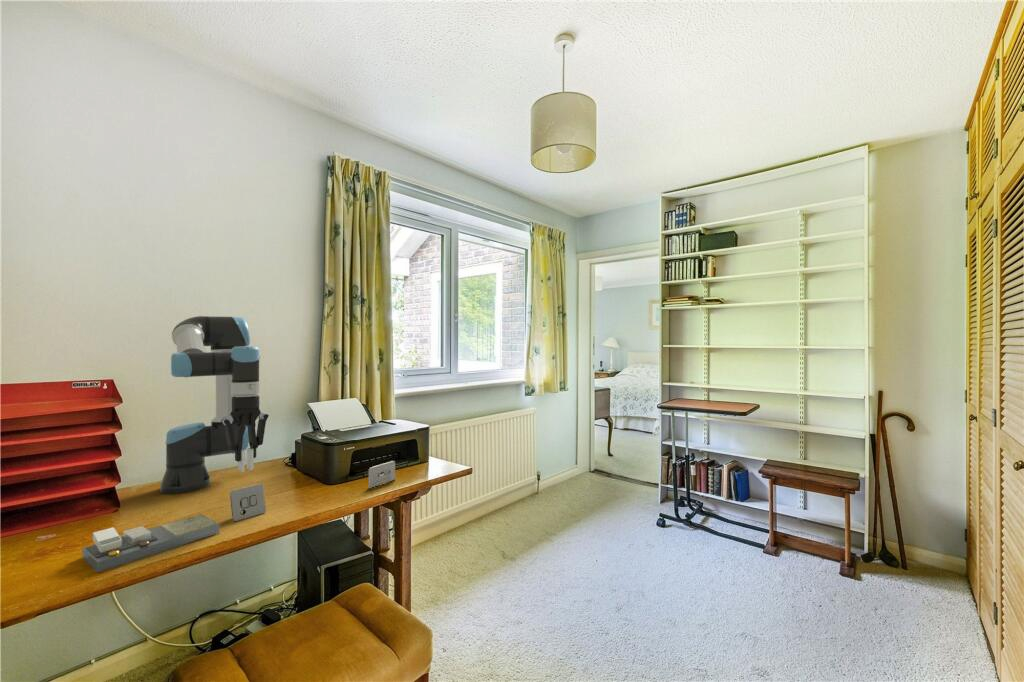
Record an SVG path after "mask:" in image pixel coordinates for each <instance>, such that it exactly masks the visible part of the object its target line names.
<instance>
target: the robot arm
mask: <svg viewBox="0 0 1024 682" xmlns="http://www.w3.org/2000/svg"><path fill="white" fill-rule="evenodd" d="M250 336H251V335H250V330H249V325H248V322H247V321H246V320H245V319H244V318H243V317H238V316H237V317H236V316H210V315H209V316H208V315H207V316H205V315H204V316H203V315H202V316H201V315H199V316H192V317H189V318H186V319H184V320H183V321H180V322H179V323H178V324H176V325H175V327H174V328H173V330H172V332H171V339H172V342H173V344H174V345H175V346H176V351H177V352H174V353H172V354H171V357H170V374H171V376H172V377H175V378H194V377H195V378H197V377H211V376H213V377H214V376H215V417H214V418H213V419H212V420H211V421H210V422H211V423H210V425H208V426H207V425H206V424H205V423H204V422H194V423H193V422H192V423H186V424H182V425H180V426H179V425H178V426H176V427H173V428H170V429H169V430H168V431H167V432H166V435H165V436H166V440H165V445H166V448H165V449H166V450H165V453H166V455H165V467H166V468H165V472H164V474H163V477H162V480H161V482H160V485H159V492H160V493H161V494H165V495H177V493H179V494H184V493H185V492H186V493H190V492H195V490H196V491H199V490H202V489H205V488H206V487H209V486H210V485H211V477H210V474H209V472H208V469H207V466H206V464H205V462H206V460H205V458H207V457H214V456H223V455H229V454H230V455H231V454H234V461H235V462H237V471H239V472H242V473H244V472H245V471H246V470H245V469H247V470H250V471H252V470H254V469H255V467H254V464H255V463H254V459H256V458H257V449H258V448H259V446H261V445H263V444H264V438H265V432H266V431H265V430H266V424H267V423H266V422H267V420H268V418H269V416H270V415H269V414H267V413H263V412H261V409H260V396H259V394H260V359H261V356H260V349H259V347H258V346H253V345H252V346H251V345H250V344H251V340H250V339H251V338H250ZM205 347H210V352H208V351H207V352H206V348H205ZM257 419H258V421H257V425H256V420H257ZM256 426H257V429H256ZM245 451H246V458H245ZM245 459H246V465H245ZM245 466H246V467H245Z"/></svg>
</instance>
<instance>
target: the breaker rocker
mask: <svg viewBox="0 0 1024 682" xmlns="http://www.w3.org/2000/svg"><path fill="white" fill-rule="evenodd" d="M120 537H121V536H120V535H119V533H118V531H117V530H116V529H115V527H109V528H106V529H102V530H98V531H94V532H92V541H93V542H94V544H96V546H97V548H98V549H99V551H100V553H101V552H105V551H108V550H111V549H115V548H118V547H121V546H122V539H121V538H120Z"/></svg>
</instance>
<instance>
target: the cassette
mask: <svg viewBox="0 0 1024 682" xmlns="http://www.w3.org/2000/svg"><path fill="white" fill-rule="evenodd" d="M381 473H382V474H381ZM394 479H395V480H396V461H395V460H391V461H387V462H385V463H384V462H383V463H380V464H378V465H374V466H373V465H372V467H370V468H369V469H368V488H369V489H370V488H371V489H372V487H374V488H376V487H375V486H377V485H380V484H383V483H386V482H389V481H392V480H394ZM392 482H393V481H392Z"/></svg>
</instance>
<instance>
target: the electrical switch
mask: <svg viewBox="0 0 1024 682" xmlns="http://www.w3.org/2000/svg"><path fill="white" fill-rule="evenodd" d="M264 488H265V487H264V484H263V483H257V484H256V483H255V484H252V485H249V486H248V485H247V486H244V487H239V488H236V489H231V491H230V492H229V498H230V499H229V500H230V509H231V516H232V520H233V522H237V521H241V519H242V520H245V519H248V518H252V517H256V516H258V515H259V516H260V515H262V514H265V513H266V512H267V505H266V500H265V499H266V498H265V489H264Z"/></svg>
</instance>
